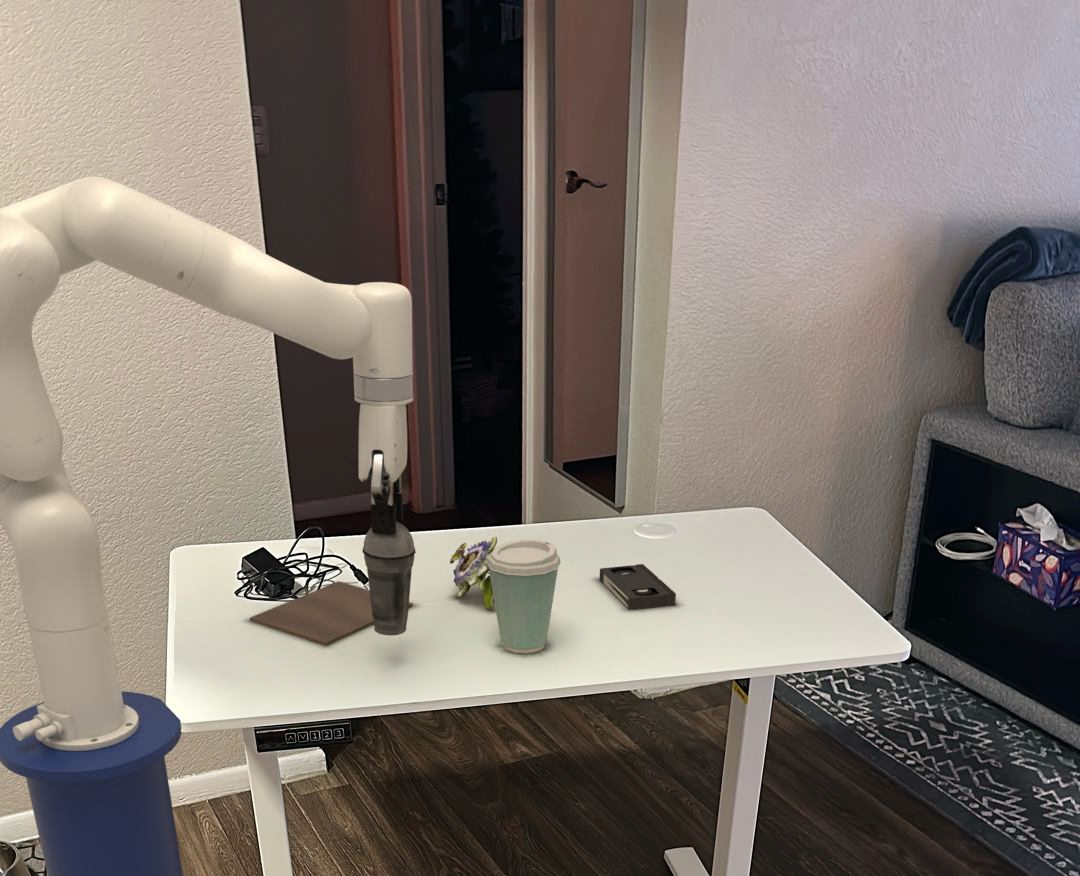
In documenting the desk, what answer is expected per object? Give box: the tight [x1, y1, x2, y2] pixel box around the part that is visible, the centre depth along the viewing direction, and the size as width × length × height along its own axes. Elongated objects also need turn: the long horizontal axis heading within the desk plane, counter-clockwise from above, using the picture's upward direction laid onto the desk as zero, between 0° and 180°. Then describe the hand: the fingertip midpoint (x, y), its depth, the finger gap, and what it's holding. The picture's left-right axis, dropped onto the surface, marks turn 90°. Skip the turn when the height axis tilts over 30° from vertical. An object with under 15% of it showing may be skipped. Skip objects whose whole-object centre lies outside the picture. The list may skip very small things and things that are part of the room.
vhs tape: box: [598, 563, 677, 611], centre depth 210 cm, size 14×8×2 cm, turn 18°
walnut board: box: [249, 580, 414, 647], centre depth 200 cm, size 20×16×1 cm
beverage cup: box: [362, 486, 417, 636], centre depth 176 cm, size 7×7×20 cm
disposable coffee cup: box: [487, 538, 561, 654], centre depth 187 cm, size 11×11×15 cm
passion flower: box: [449, 536, 498, 612], centre depth 205 cm, size 11×11×12 cm
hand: (387, 526), depth 173 cm, fingers closed on beverage cup, 4 cm apart
